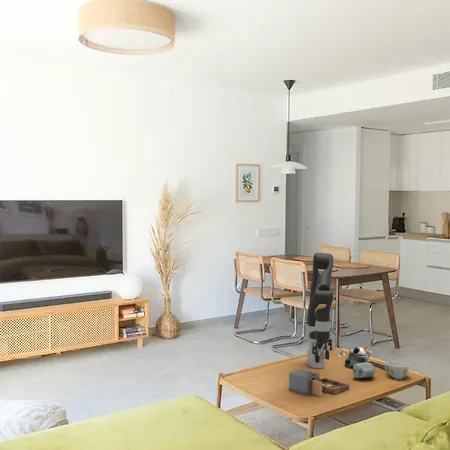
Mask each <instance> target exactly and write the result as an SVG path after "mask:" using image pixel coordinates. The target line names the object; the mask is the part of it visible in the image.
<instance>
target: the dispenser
mask: <svg viewBox="0 0 450 450" xmlns="http://www.w3.org/2000/svg"><path fill="white" fill-rule="evenodd" d="M312 379H313V380H317V381H319V379H320V373H316V372H313V371H310V370H305V369H302V368H300V369H298V370H293V371H290V372H288V390H289V391H290V392H291V391H292V392H295V393H298V394H301V395H304V396H310V395H313V394H312Z"/></svg>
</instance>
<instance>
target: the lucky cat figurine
mask: <svg viewBox="0 0 450 450" xmlns="http://www.w3.org/2000/svg"><path fill="white" fill-rule="evenodd" d="M371 354H372V350H370V349H369V347H362V346H356V347H354V348H353V349H350V350H349V352H348V355H347V357H346V358H345V360H344V365H345V366H346V367H348V368H349V369H353V367H354V365H355V364H358V363H369V362H368V361H369V359H370V356H371Z"/></svg>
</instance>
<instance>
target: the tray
mask: <svg viewBox="0 0 450 450" xmlns="http://www.w3.org/2000/svg"><path fill="white" fill-rule="evenodd" d="M319 381H320V382H322V393H327V394H329V395H332V396H335V395H336V396H337V395H338V394H341V393H344V392H347V391H349V390H350V384H348V383H345V382H342V381H337V380H334V379H330V378H327V377H321V378H319ZM323 384H324V385H323ZM327 385H331V386H327Z"/></svg>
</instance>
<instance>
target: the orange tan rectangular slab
mask: <svg viewBox="0 0 450 450" xmlns="http://www.w3.org/2000/svg"><path fill="white" fill-rule="evenodd" d="M311 395H315V396H318V397H322V396H323V391H322V382H320V381H317V380H313V379H312V394H311Z"/></svg>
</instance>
